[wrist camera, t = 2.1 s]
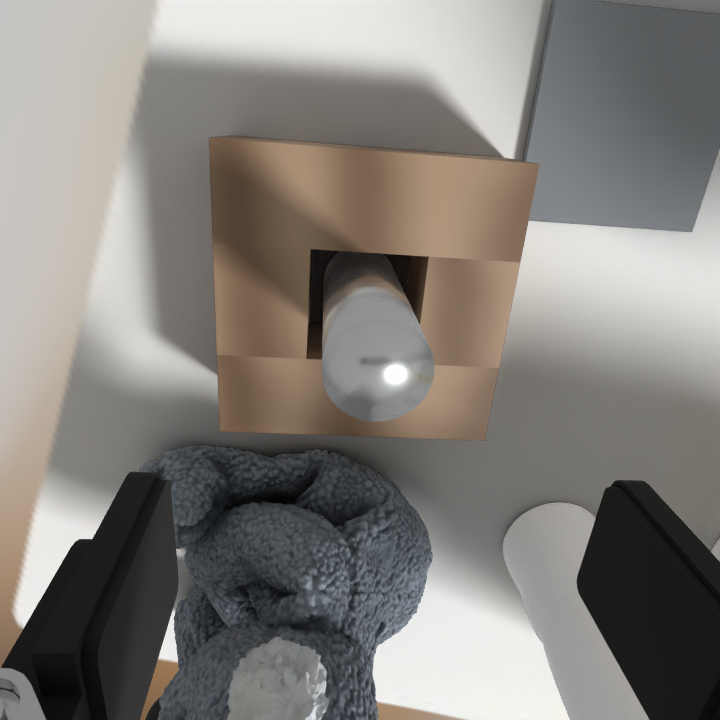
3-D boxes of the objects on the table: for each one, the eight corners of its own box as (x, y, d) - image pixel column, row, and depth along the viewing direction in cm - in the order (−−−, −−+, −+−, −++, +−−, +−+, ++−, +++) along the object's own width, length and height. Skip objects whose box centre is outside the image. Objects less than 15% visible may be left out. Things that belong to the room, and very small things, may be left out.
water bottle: (503, 500, 36) (799, 1128, 14) (603, 494, 37) (1059, 1099, 14) (496, 576, 39) (729, 1200, 16) (589, 570, 40) (945, 1175, 17)
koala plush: (138, 433, 33) (-89, 801, 15) (424, 411, 33) (536, 741, 15) (190, 629, 40) (78, 1037, 22) (426, 609, 40) (503, 991, 23)
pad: (753, 20, 25) (761, 18, 25) (686, 230, 29) (692, 231, 29) (553, -1, 25) (557, -3, 24) (511, 218, 29) (515, 219, 28)
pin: (398, 247, 29) (442, 321, 18) (391, 316, 31) (427, 423, 20) (325, 243, 29) (324, 315, 18) (322, 313, 30) (319, 419, 19)
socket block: (504, 157, 27) (539, 164, 23) (462, 397, 33) (484, 440, 28) (229, 135, 26) (209, 137, 22) (235, 387, 32) (219, 431, 27)
